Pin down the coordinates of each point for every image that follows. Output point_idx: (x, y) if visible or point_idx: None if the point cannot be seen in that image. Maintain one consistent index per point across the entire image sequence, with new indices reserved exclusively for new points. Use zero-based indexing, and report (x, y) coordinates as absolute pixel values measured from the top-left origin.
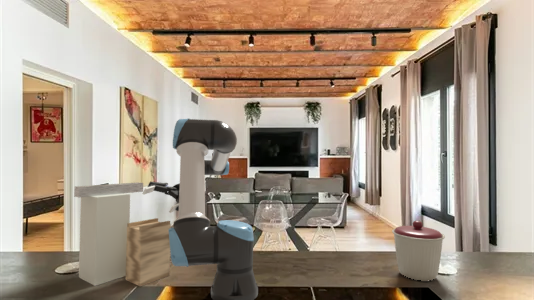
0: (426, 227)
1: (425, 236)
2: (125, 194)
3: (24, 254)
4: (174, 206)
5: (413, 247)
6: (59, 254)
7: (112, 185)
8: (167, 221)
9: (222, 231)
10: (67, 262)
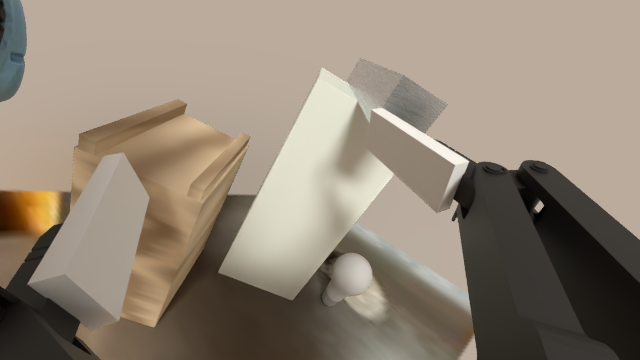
0: None
1: None
2: (325, 79)
3: (466, 308)
4: (101, 167)
5: None
6: (445, 332)
7: (370, 64)
8: (96, 130)
9: None
10: (387, 299)
